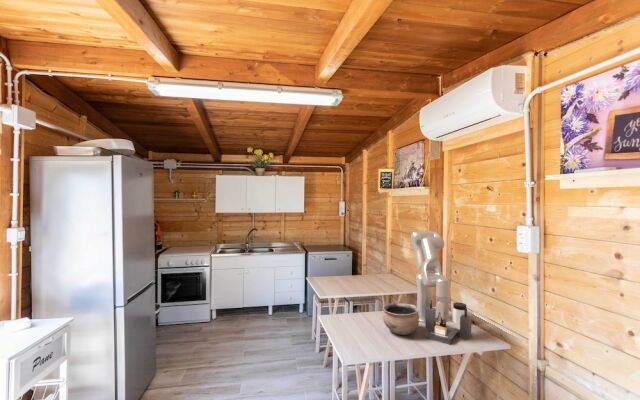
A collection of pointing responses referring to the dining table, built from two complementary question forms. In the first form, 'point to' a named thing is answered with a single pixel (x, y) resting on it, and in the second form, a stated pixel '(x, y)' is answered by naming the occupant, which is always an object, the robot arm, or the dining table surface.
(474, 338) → the dining table surface
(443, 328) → the block
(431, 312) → the left plug adapter
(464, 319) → the right plug adapter
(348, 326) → the dining table surface
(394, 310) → the ceramic bowl
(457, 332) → the breaker panel
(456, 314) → the jar
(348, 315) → the dining table surface
